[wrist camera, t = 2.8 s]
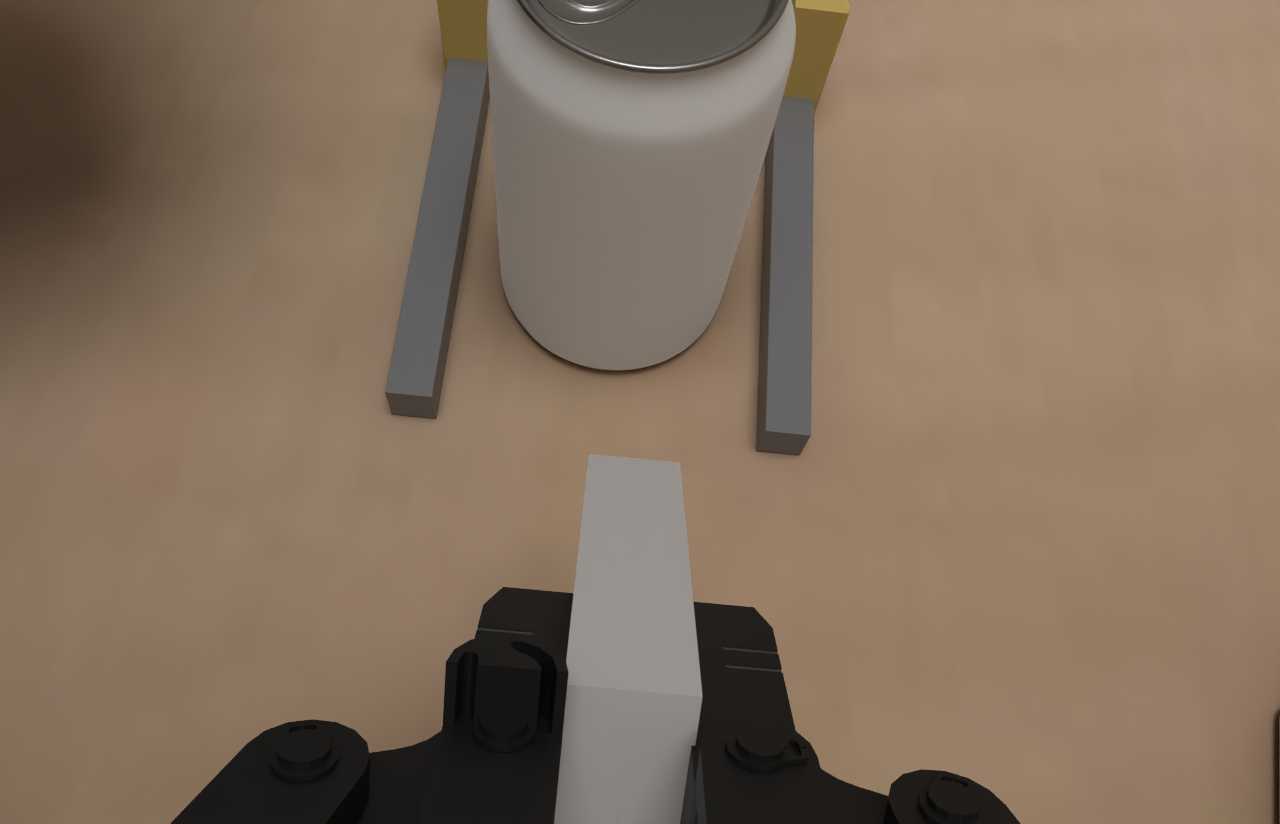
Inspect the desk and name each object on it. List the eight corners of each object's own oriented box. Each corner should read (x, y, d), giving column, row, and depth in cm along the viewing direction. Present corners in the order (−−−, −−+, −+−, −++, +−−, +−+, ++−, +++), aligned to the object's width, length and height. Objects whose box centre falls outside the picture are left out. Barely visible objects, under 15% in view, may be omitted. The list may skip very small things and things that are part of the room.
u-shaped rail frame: (358, 410, 30) (325, 321, 25) (459, -96, 37) (448, -233, 33) (831, 458, 30) (883, 380, 26) (831, -50, 38) (871, -179, 34)
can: (469, 224, 32) (433, -123, 21) (667, 162, 34) (728, -190, 23) (550, 409, 30) (556, 128, 19) (759, 335, 32) (874, 35, 21)
